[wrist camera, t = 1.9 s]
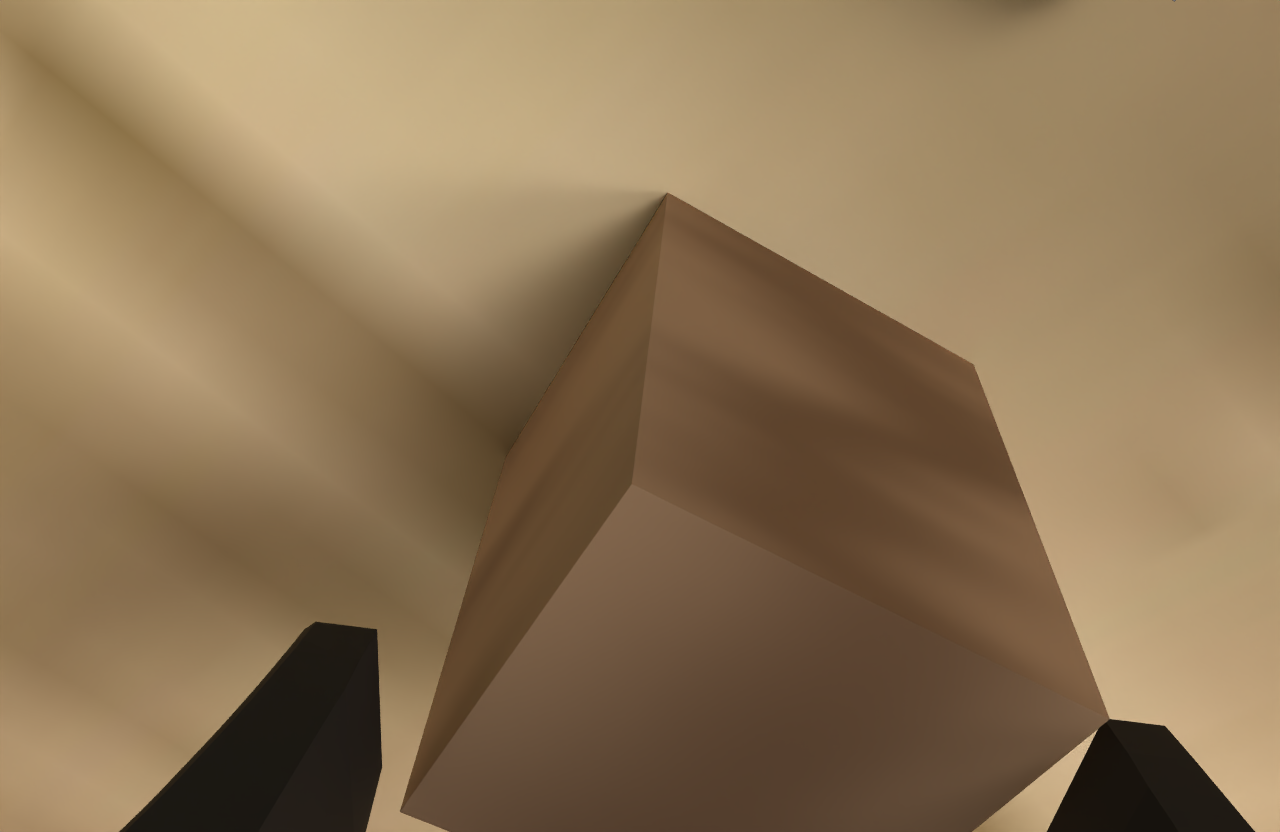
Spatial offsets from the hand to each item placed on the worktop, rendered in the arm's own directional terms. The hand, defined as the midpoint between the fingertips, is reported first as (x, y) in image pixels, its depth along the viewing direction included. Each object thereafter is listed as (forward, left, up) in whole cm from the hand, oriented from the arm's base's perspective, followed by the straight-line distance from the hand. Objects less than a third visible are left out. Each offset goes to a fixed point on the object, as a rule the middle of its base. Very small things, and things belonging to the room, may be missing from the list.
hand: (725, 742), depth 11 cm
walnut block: (0, 0, -6) cm, 6 cm away
